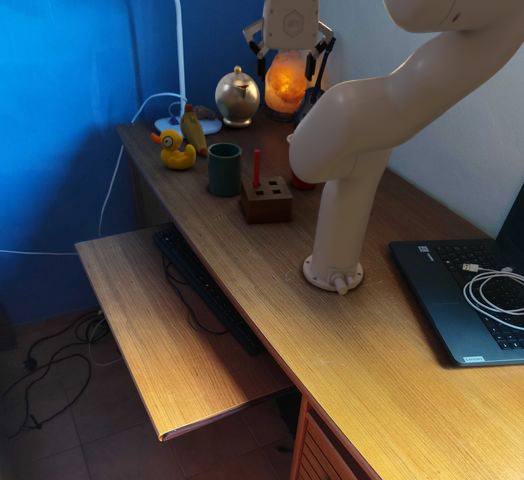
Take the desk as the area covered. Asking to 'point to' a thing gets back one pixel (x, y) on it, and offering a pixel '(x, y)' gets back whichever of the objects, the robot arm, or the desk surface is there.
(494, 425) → the desk surface
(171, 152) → the duckling
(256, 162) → the straw
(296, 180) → the plastic cup
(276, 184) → the straw stand
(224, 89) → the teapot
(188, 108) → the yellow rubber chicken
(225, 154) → the tumbler
